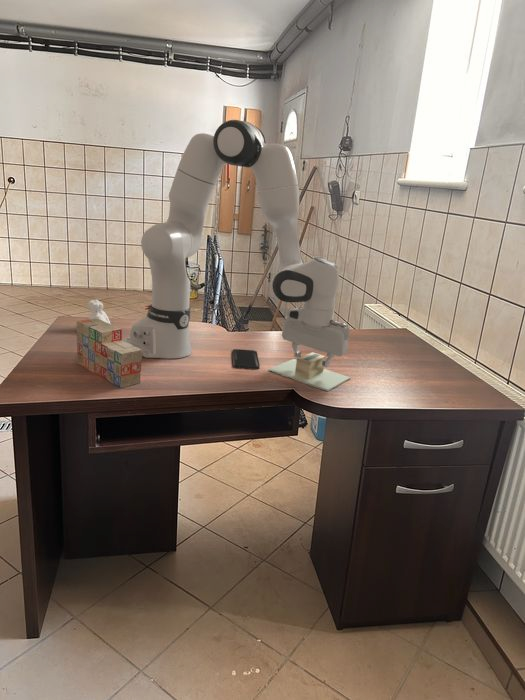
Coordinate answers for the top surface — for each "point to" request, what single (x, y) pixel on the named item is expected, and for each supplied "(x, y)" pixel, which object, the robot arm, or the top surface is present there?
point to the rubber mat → (321, 381)
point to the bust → (97, 311)
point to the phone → (245, 359)
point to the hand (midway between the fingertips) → (311, 361)
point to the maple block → (309, 365)
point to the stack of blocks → (108, 352)
